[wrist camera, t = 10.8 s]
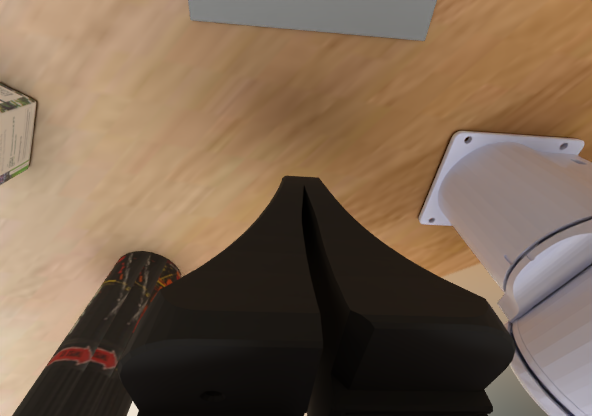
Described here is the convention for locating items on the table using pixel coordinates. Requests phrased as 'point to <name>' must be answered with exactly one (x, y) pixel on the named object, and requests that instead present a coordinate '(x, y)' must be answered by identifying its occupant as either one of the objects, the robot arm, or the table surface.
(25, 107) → the syrup box
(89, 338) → the deodorant
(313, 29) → the mat
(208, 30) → the table surface
